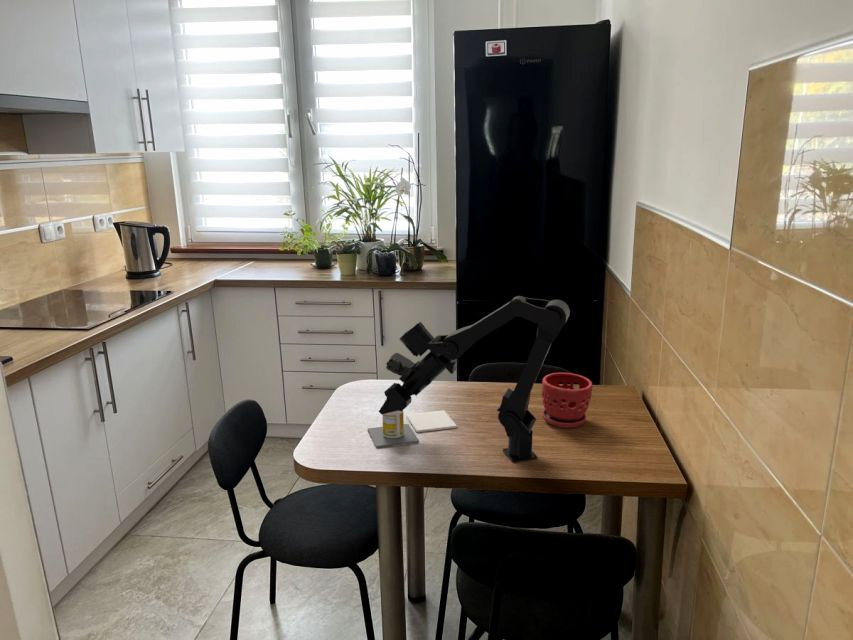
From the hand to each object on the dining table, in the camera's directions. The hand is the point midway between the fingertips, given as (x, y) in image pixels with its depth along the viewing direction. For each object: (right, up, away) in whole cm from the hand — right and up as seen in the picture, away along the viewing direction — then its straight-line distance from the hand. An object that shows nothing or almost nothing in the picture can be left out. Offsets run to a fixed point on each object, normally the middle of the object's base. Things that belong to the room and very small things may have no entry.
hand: (387, 406), depth 163 cm
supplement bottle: (+2, -8, +1) cm, 8 cm away
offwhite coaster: (+11, -6, +10) cm, 16 cm away
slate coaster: (+1, -8, +2) cm, 8 cm away
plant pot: (+48, -6, +10) cm, 49 cm away
